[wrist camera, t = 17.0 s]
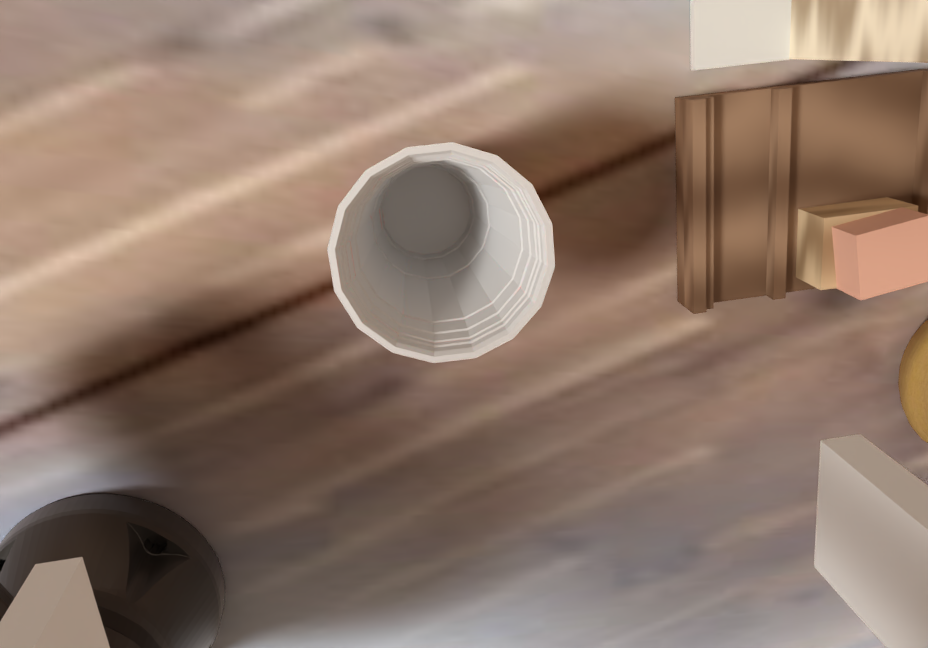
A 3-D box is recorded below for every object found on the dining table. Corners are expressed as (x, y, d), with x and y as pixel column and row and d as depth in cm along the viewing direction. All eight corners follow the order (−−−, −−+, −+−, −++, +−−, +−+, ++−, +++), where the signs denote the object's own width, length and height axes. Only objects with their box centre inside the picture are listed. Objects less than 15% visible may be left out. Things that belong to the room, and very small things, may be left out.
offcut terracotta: (905, 269, 50) (932, 280, 48) (836, 288, 50) (860, 300, 48) (902, 207, 49) (930, 215, 47) (831, 226, 49) (855, 235, 46)
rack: (905, 269, 55) (932, 280, 52) (677, 301, 54) (693, 313, 51) (922, 68, 51) (952, 70, 48) (674, 97, 49) (692, 100, 47)
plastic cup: (305, 153, 48) (291, 186, 36) (481, 95, 48) (521, 110, 36) (367, 320, 51) (372, 396, 40) (530, 265, 51) (580, 326, 40)
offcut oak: (882, 265, 53) (912, 277, 51) (795, 277, 53) (820, 290, 50) (887, 197, 52) (918, 205, 49) (798, 209, 51) (824, 218, 48)
